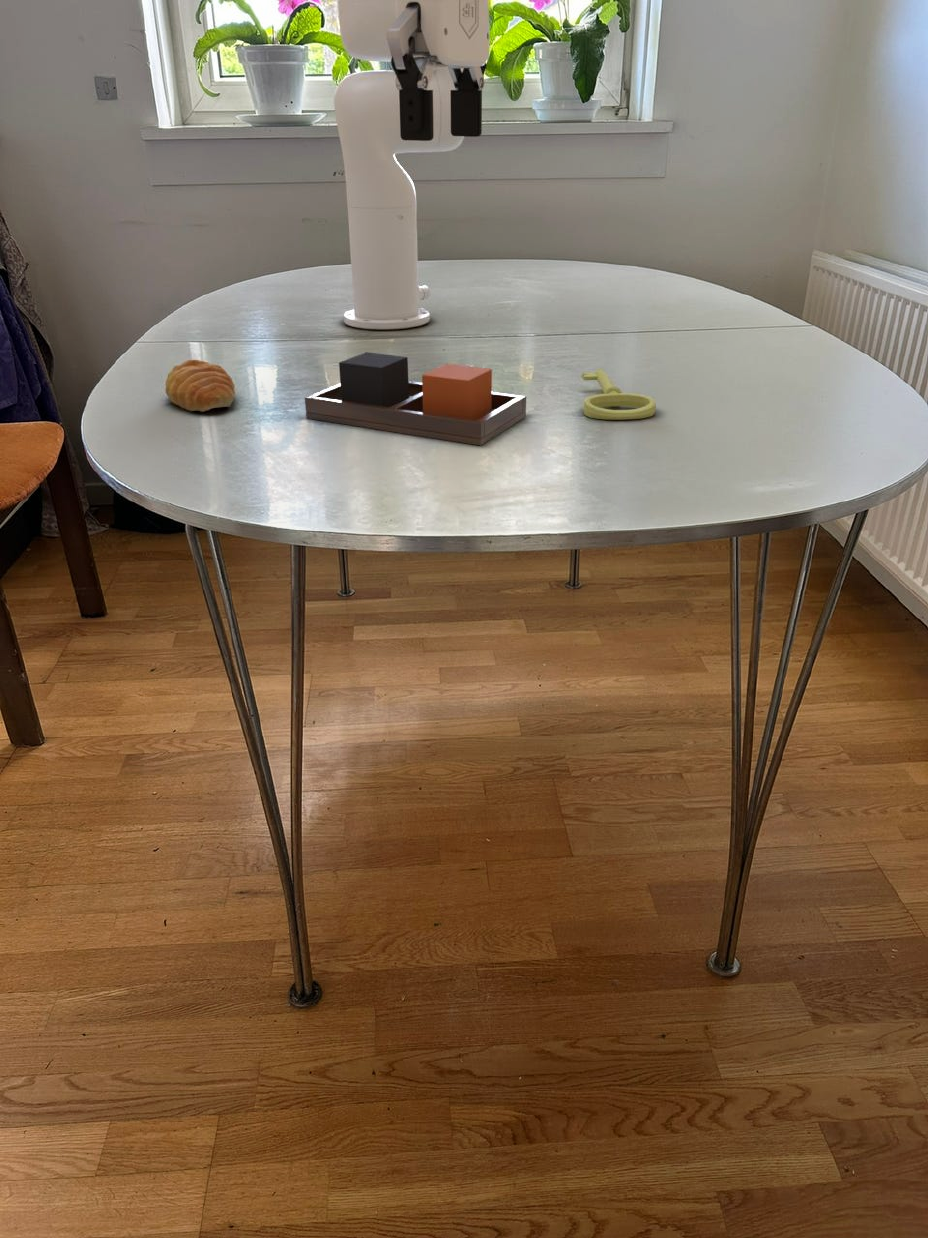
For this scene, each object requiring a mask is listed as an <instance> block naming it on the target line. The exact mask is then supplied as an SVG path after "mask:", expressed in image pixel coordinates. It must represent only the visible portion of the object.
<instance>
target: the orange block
mask: <svg viewBox="0 0 928 1238" xmlns="http://www.w3.org/2000/svg"><path fill="white" fill-rule="evenodd" d="M492 380H493V369H492V368H485V367H477V366H471V365H460V364H453V363H452V364H451V363H445V364H443V365H441V366H438V367H437V368H435V369H432V370H430V371H428V372H426V373H423V374H422V375H421V383H422V394H423V413H430V414H437V415H444V416H450V417H457V418H464V419H471V420H478V419H480V418H482V417H484V416H485V415H487V414H489V413H490V412H491V401H492V392H493V390H492V389H493V387H492V386H493V384H492V383H493V381H492Z"/></svg>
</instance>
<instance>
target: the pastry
mask: <svg viewBox="0 0 928 1238" xmlns="http://www.w3.org/2000/svg"><path fill="white" fill-rule="evenodd" d="M165 394H166V396H167V397H168V399H169V400H170V401H171V403H173V404H174V405H176V406H179V407H180V408H181V409H185V410H186V411H189V412H195V411H197V412H198V411H199V412H201V413H203V412H206V411H210V410H212V409H214V408H215V409H216V408H227V407H228V408H230V407H231V405H232V403H233V402H234V399H235V395H236V389H235V383H234V381H233V379H232V377H231V376H230V375H229V374H228V372H227V371H226V370H225V369H224V368H223V367H222V366H220V365H218V364H214V363H209V362H207V361H205V360H200V359H188V360H185V361H183V362H181V364H179V365H174V366H173V367H172V369H171V370H170V372H169V373H168V374H167V378H166V380H165Z"/></svg>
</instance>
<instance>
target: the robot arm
mask: <svg viewBox="0 0 928 1238" xmlns="http://www.w3.org/2000/svg"><path fill="white" fill-rule="evenodd" d="M489 4H490V2H489V0H336V8H337V21H338V28H339V34H340V39H341V44H342V46H343V48H344V50H345V52H346V53H347V54H348V56H350V57H352V58H353V59H357V60H359V61H365V62H380V63H381V62H383V63H385V62H386V63H390V64H391V68H392V70H386V69H385V70H383V69H382V70H381V69H380V70H374V69H373V70H361V71H357V72H353V73H351V74H347V76H345V77H344V78H343V79H341V80H340V81H339V83H338V84H337V86H336V88H335V92H334V96H333V98H334V99H333V103H334V116H335V120H336V121H335V122H336V126H337V131H338V137H339V141H340V146H341V147H340V148H341V154H342V160H343V167H344V176H345V189H346V190H345V191H346V203H347V204H346V205H347V221H348V237H349V251H350V253H349V254H350V267H351V268H350V269H351V285H352V286H351V287H352V300H353V302H352V303H353V309H351V310H348V311H345V313H344V314H343V316H342V317H343V323H344V324H345V325H347V326H349V327H352V328H357V329H365V330H400V329H409V328H414V327H415V328H416V327H420V326H423V325H425V324H428V323H429V322H430V320H431V313H430V312H429V311H428V309H427V310H426V309H424V308H421V304H420V303H421V301H424V300H428V299H429V298H430V296H431V290H430V287H428V286H427V285H422V286H420V285H419V261H418V260H419V259H418V223H417V221H418V220H417V219H418V218H417V193H416V188H415V184H414V182H413V180H412V179H411V177H410V175H409V174H408V173H407V171H406V170H405V169H404V168H403V167H402V165H401V164H400V163H399V162H398V161H397V158H396V156H397V155H398V154H405V153H443V152H445V153H446V152H451V151H454V150H456V149H457V148H459V147H461V144H462V143H463V141H464V139H465V137H471V138H473V137H474V138H475V137H480V136H482V132H483V130H482V129H483V122H482V121H483V89H484V87H485V78H484V75H485V72H486V70H487V66H488V64H487V62H488V61H489V58H490V5H489ZM419 68H420V69H419Z"/></svg>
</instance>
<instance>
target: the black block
mask: <svg viewBox="0 0 928 1238" xmlns="http://www.w3.org/2000/svg"><path fill="white" fill-rule="evenodd" d="M408 362H409V361H408V357H407V356H401V355H394V354H384V353H375V352H367V351H366V352H364V353H360V354H358V355H354V356H352V357H349V358H347V359H345V360H342V361H339V363H338V368H339V371H338V372H339V383H340V385H341V399H342V401H348V402H355V403H361V404H368V405H375V406H382V407H389V408H390V407H392V406H394V405H396V404H398V403H400V402H402V401H404V400H406V399H408V398H409V383H408V381H409V363H408Z"/></svg>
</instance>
